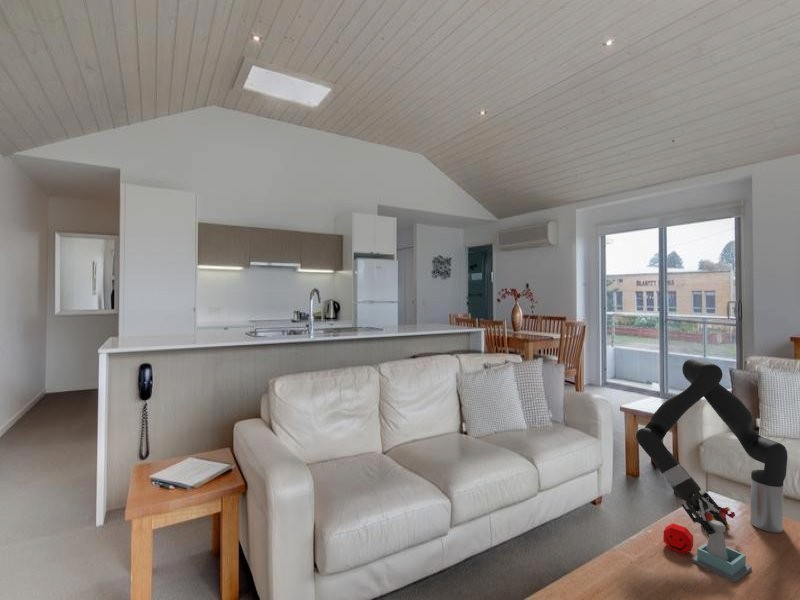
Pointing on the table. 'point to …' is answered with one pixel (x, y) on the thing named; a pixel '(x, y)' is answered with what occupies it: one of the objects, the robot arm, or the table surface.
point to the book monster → (722, 512)
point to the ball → (678, 538)
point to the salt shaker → (717, 540)
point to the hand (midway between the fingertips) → (718, 530)
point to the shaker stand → (723, 563)
